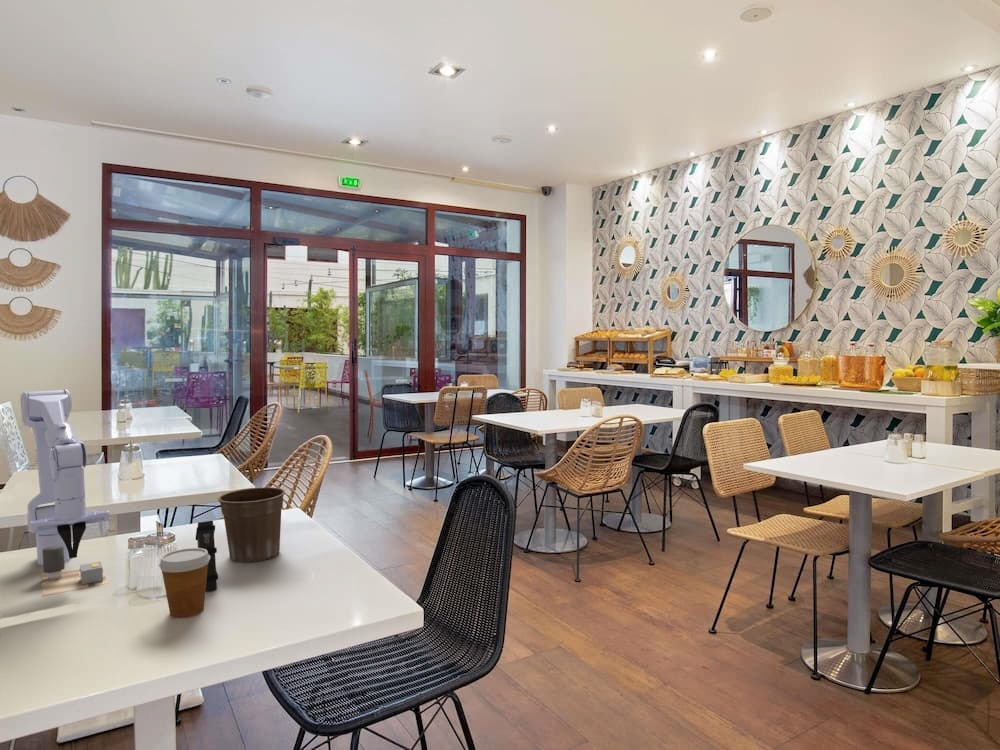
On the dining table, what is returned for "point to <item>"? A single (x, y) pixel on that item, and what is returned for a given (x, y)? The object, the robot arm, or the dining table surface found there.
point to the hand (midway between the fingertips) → (73, 556)
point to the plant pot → (252, 522)
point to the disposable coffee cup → (185, 580)
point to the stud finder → (91, 572)
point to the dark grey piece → (53, 561)
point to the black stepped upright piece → (207, 542)
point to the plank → (66, 583)
